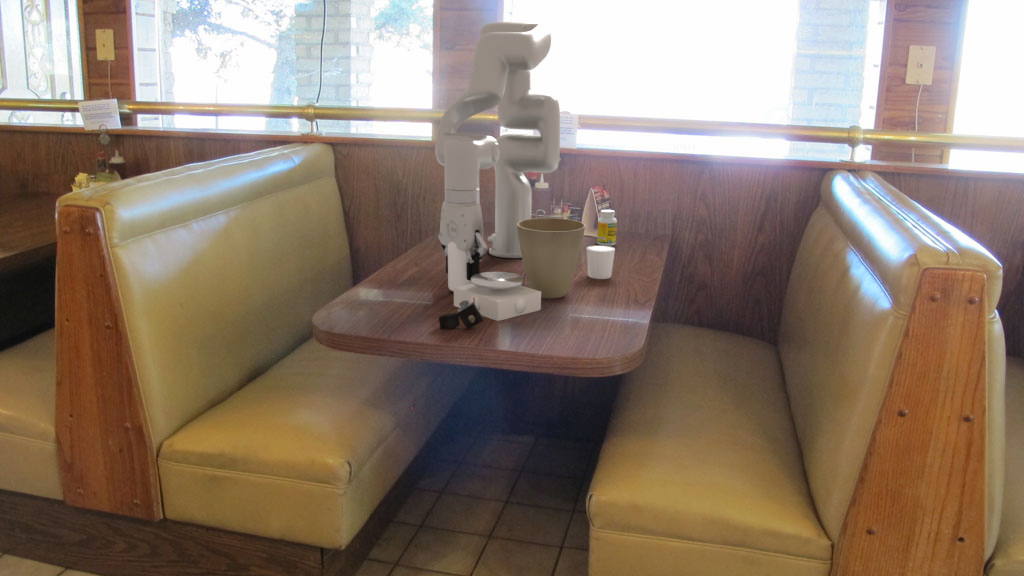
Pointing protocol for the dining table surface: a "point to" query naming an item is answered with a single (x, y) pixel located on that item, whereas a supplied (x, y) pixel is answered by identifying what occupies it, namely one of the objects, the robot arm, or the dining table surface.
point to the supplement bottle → (607, 228)
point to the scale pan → (497, 280)
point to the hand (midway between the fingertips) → (462, 275)
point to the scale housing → (499, 300)
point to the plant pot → (550, 253)
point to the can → (457, 266)
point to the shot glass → (600, 261)
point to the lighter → (461, 316)
